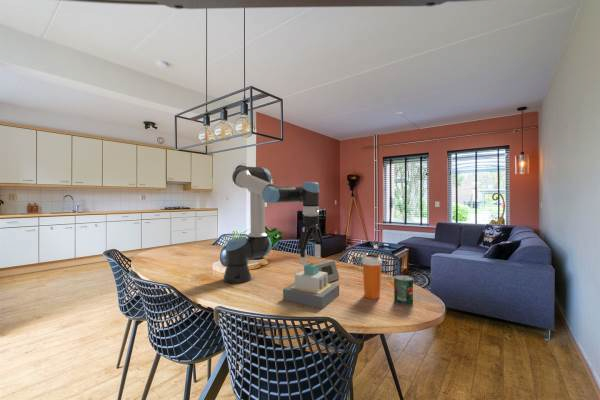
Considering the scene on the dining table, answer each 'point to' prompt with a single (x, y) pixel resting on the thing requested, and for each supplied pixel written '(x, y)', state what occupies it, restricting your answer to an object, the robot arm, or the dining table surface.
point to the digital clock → (329, 270)
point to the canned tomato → (403, 290)
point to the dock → (311, 295)
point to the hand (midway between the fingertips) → (310, 260)
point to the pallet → (311, 281)
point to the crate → (311, 269)
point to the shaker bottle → (372, 275)
